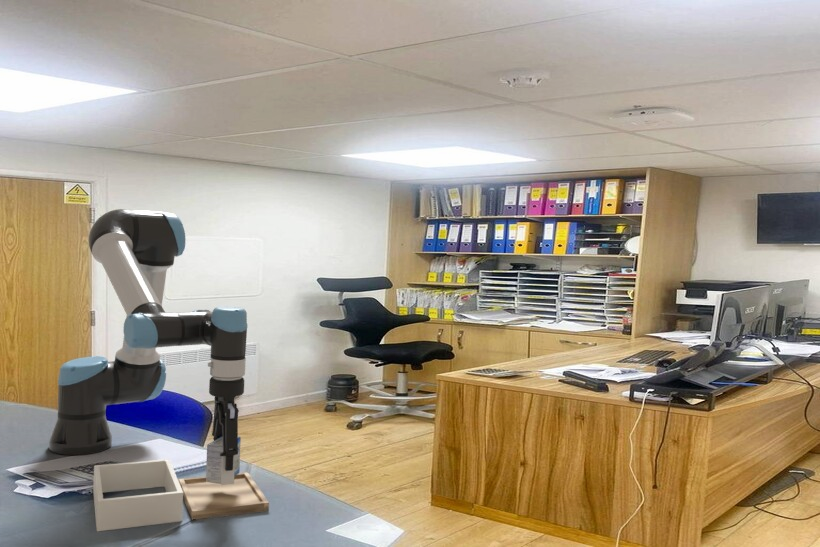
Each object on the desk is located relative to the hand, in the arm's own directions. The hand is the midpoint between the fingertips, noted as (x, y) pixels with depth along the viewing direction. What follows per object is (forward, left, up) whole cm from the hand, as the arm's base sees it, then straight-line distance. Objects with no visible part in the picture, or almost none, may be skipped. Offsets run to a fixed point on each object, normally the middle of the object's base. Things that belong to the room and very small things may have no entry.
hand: (223, 476), depth 158 cm
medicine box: (0, 0, 0) cm, 0 cm away
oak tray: (0, 0, -5) cm, 5 cm away
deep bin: (-1, -18, -5) cm, 19 cm away
